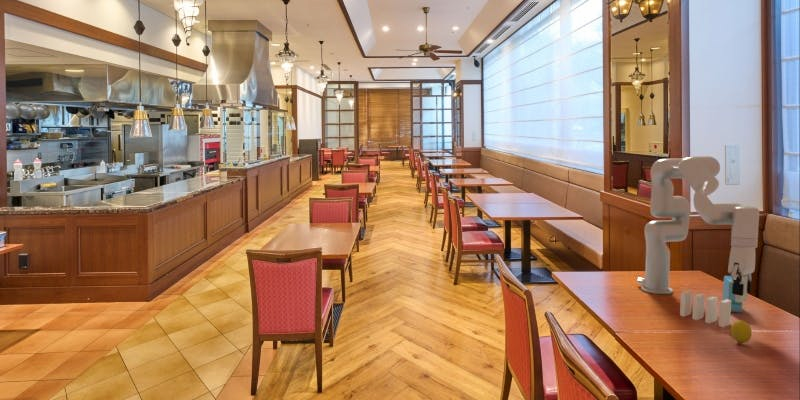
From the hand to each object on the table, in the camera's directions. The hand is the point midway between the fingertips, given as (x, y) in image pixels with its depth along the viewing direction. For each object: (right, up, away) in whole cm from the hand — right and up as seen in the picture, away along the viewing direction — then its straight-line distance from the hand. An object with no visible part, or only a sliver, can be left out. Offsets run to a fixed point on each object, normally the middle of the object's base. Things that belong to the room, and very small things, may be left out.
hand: (741, 292), depth 170 cm
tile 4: (-2, -13, +5) cm, 14 cm away
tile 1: (-10, -12, +17) cm, 23 cm away
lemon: (-8, -15, -11) cm, 20 cm away
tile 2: (-7, -12, +13) cm, 19 cm away
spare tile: (0, -3, 0) cm, 3 cm away
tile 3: (-5, -12, +9) cm, 16 cm away
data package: (+12, -11, +23) cm, 28 cm away
